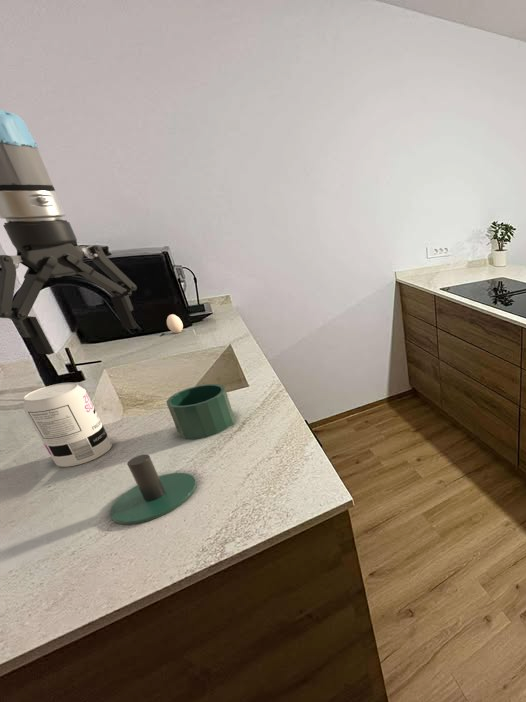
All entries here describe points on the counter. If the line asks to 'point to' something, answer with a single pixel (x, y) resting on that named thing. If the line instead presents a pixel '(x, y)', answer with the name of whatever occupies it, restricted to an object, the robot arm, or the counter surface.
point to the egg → (174, 323)
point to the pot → (201, 411)
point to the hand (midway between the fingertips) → (91, 339)
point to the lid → (151, 493)
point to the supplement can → (67, 423)
